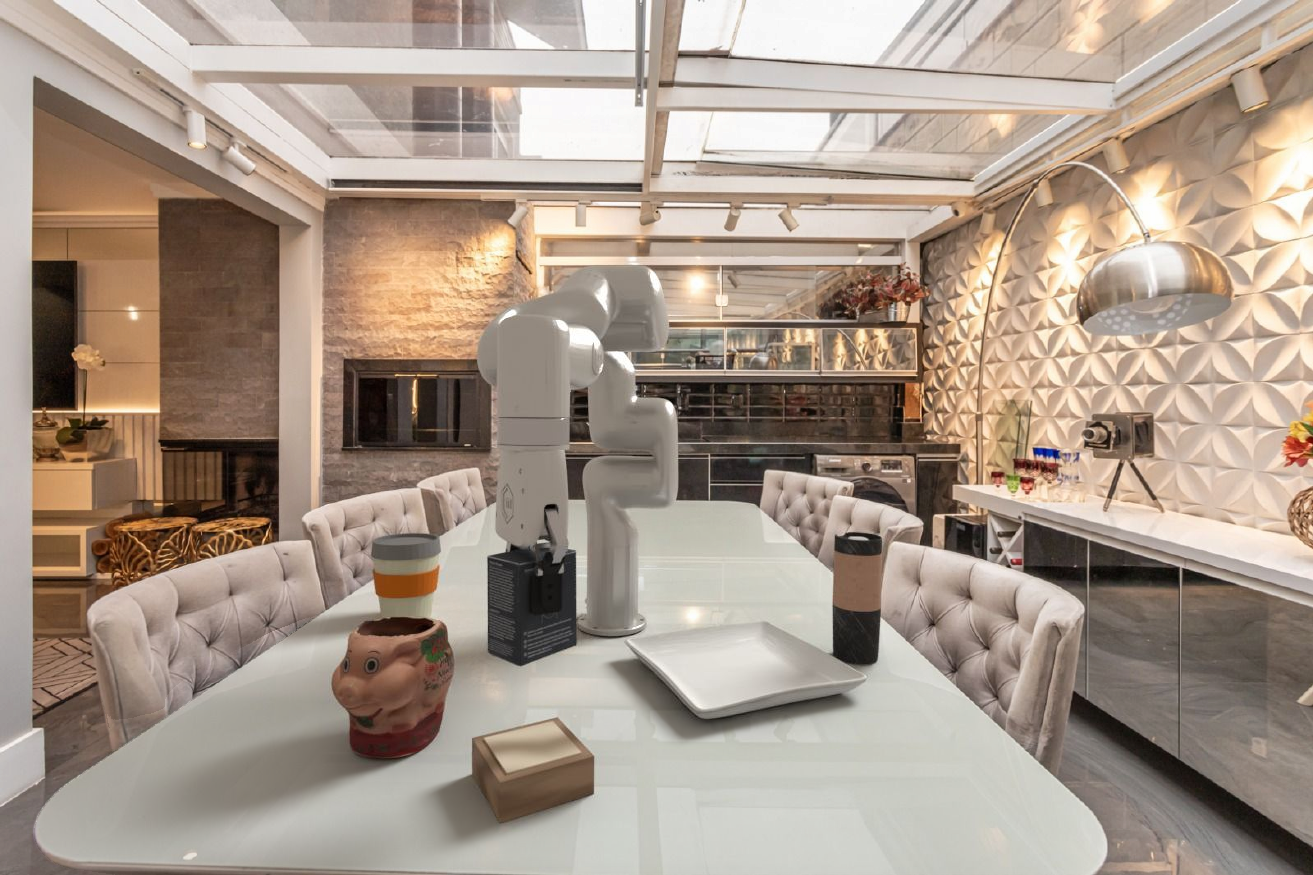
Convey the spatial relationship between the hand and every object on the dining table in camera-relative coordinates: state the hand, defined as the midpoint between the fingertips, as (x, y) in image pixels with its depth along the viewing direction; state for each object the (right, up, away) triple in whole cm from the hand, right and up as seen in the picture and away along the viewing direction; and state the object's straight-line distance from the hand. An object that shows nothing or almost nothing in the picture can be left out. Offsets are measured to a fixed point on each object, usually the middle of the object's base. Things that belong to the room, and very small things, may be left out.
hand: (532, 601), depth 70 cm
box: (0, -5, 0) cm, 5 cm away
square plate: (+25, -19, +30) cm, 44 cm away
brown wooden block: (0, -20, +1) cm, 20 cm away
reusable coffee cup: (-35, -17, +57) cm, 69 cm away
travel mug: (+46, -19, +39) cm, 63 cm away
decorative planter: (-18, -19, +11) cm, 29 cm away
